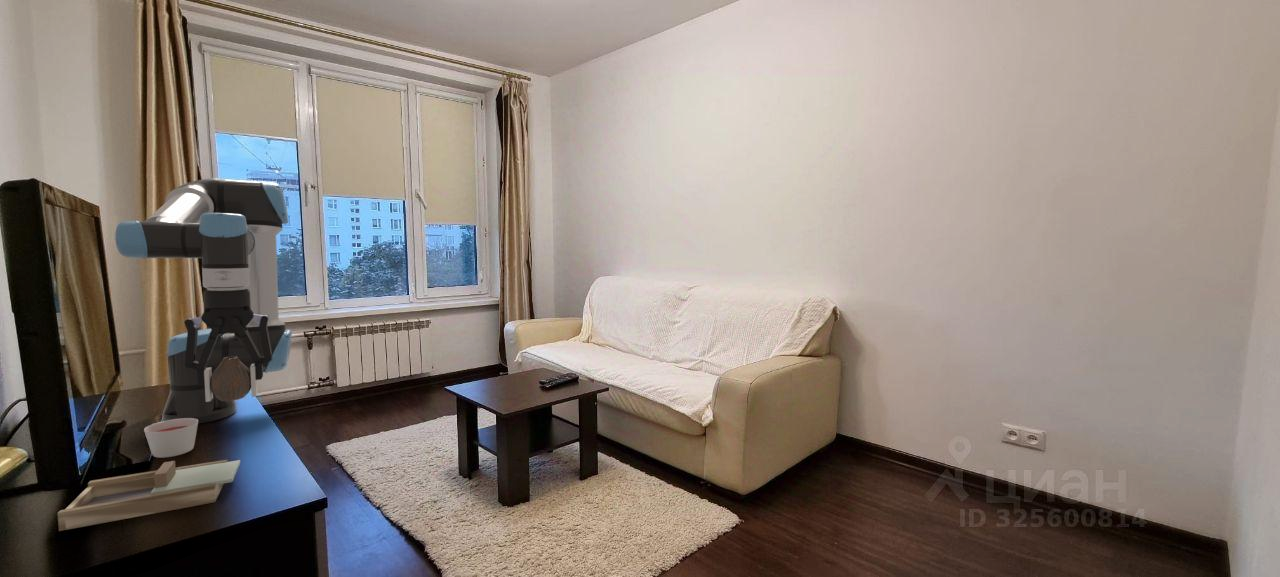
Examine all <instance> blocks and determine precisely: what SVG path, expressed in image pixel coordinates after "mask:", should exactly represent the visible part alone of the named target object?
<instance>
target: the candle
mask: <svg viewBox="0 0 1280 577" xmlns="http://www.w3.org/2000/svg"><path fill="white" fill-rule="evenodd" d="M198 425H199V424H198V420H197V419H194V418H180V419H172V420H167V421H163V420H162V421H159V422H155V423H152V424H150V425H147V426H146V427H144V429H143V432H144V433H145V435H144V436H145V437H146V440H147V443H148V446H149V449H150V452H151V455H152V456H153V457H154V458H157V459H159V458H160V459H162V458H163V459H165V458H171V457H176V456H180V455H183V454H186V453H188V452H191V451H192V450H193V449H194V447H195V443H196V437H197V432H198V431H197V430H198Z"/></svg>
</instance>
